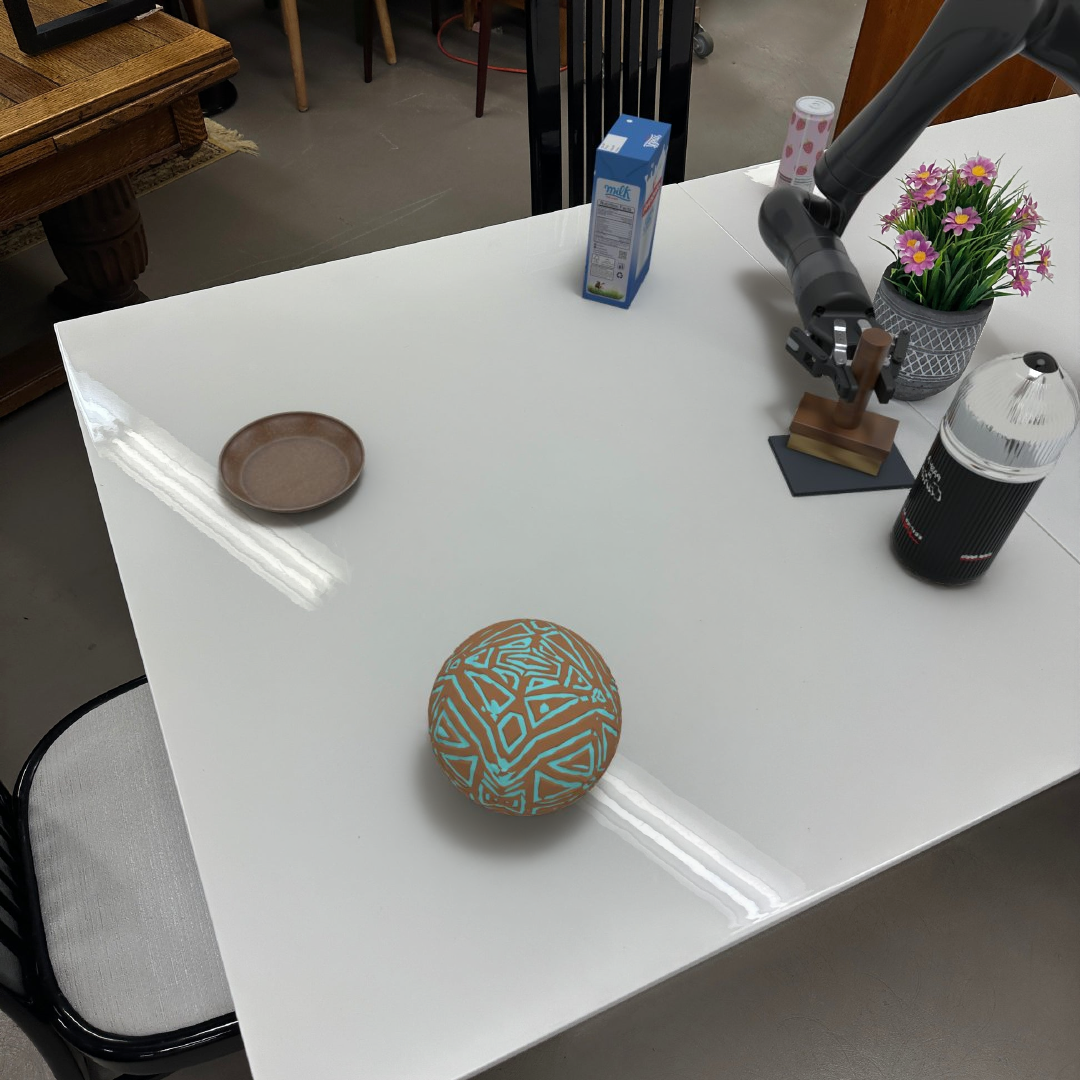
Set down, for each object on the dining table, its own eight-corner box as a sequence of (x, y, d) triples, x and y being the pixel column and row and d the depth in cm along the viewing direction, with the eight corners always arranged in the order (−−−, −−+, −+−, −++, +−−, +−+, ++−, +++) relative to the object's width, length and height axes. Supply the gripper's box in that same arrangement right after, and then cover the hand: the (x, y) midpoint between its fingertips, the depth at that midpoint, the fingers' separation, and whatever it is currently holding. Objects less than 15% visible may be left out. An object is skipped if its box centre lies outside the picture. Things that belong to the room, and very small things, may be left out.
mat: (884, 431, 110) (886, 427, 110) (916, 487, 104) (917, 483, 104) (767, 439, 108) (768, 435, 108) (793, 497, 103) (794, 493, 102)
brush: (888, 447, 108) (935, 336, 96) (878, 478, 104) (926, 367, 93) (795, 418, 110) (831, 307, 99) (783, 448, 107) (818, 336, 96)
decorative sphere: (407, 824, 76) (395, 726, 65) (460, 670, 86) (457, 562, 75) (592, 869, 75) (613, 776, 63) (625, 707, 84) (647, 602, 73)
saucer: (354, 419, 107) (352, 400, 105) (378, 513, 98) (376, 494, 96) (217, 440, 104) (212, 421, 102) (229, 540, 95) (224, 521, 93)
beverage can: (809, 198, 145) (837, 98, 133) (807, 217, 141) (836, 116, 130) (771, 192, 145) (795, 92, 134) (768, 211, 142) (793, 110, 130)
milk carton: (627, 309, 124) (648, 161, 109) (582, 298, 125) (596, 149, 110) (649, 269, 130) (671, 123, 115) (605, 259, 131) (622, 113, 116)
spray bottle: (910, 596, 94) (1017, 399, 76) (870, 519, 101) (959, 321, 82) (1006, 586, 96) (1135, 391, 77) (961, 511, 102) (1069, 315, 84)
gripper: (777, 267, 106) (811, 366, 95) (902, 271, 107) (951, 369, 95) (762, 324, 112) (792, 424, 100) (881, 327, 112) (924, 426, 101)
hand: (869, 396), depth 98 cm, fingers closed on brush, 3 cm apart
